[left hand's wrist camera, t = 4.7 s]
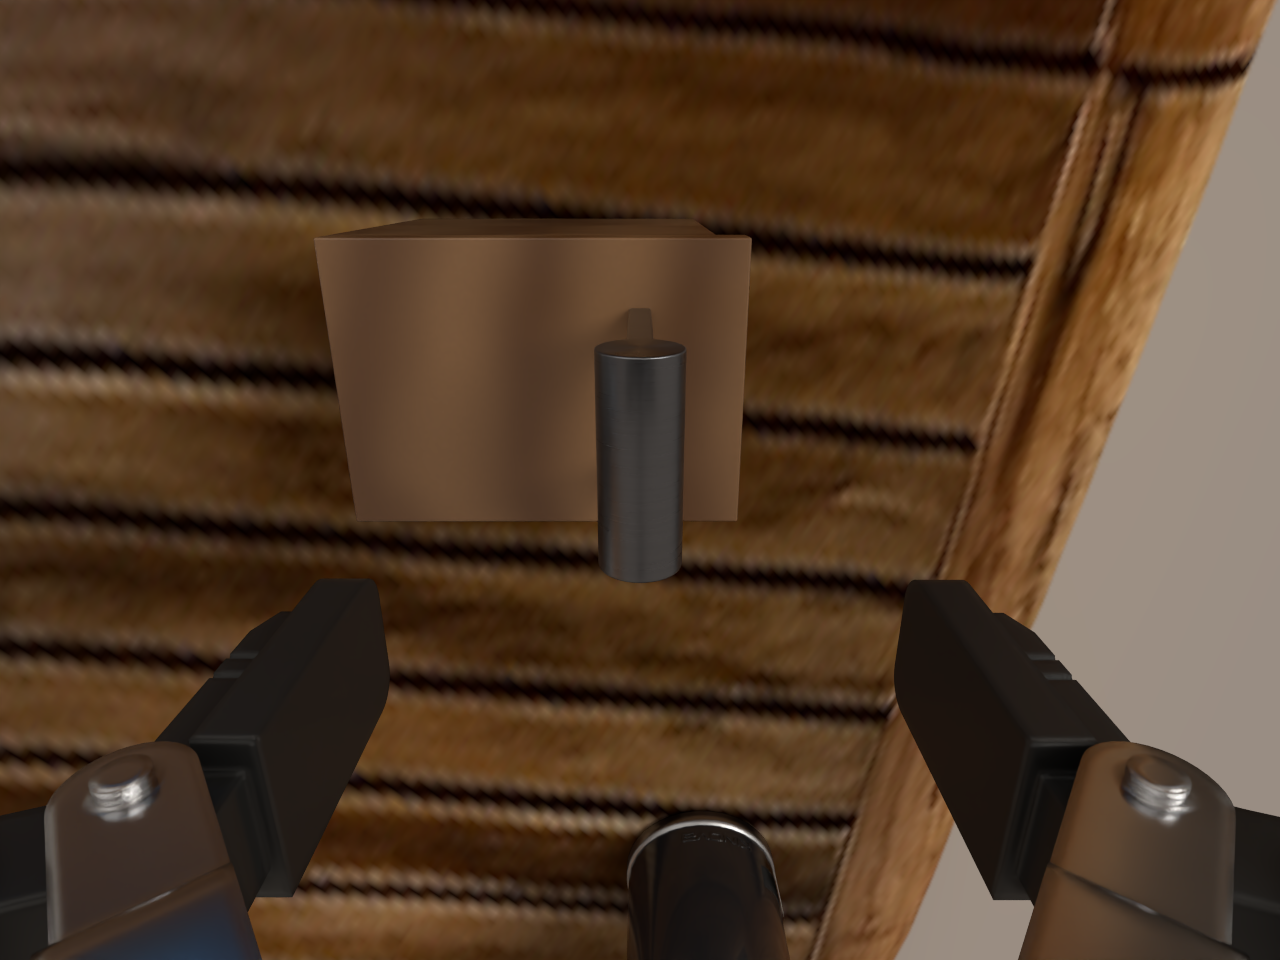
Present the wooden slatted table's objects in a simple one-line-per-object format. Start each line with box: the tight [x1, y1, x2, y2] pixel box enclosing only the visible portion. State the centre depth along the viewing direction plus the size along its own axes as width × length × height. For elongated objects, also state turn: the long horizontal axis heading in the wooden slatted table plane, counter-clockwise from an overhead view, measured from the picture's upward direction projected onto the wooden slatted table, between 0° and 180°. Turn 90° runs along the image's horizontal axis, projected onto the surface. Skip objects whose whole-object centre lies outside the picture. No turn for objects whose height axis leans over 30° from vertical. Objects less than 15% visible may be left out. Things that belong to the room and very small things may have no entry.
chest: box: [333, 219, 715, 235], centre depth 31 cm, size 12×10×11 cm
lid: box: [314, 235, 752, 583], centre depth 22 cm, size 13×10×9 cm
